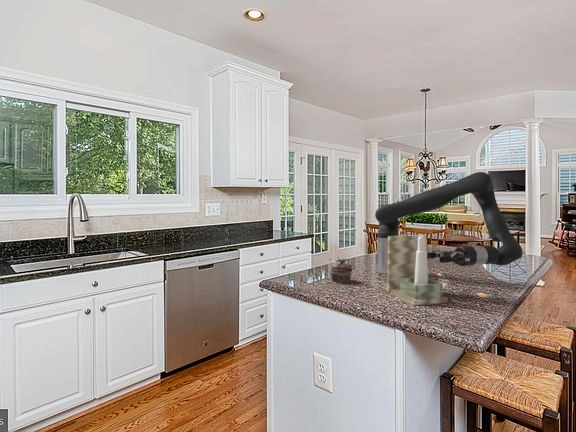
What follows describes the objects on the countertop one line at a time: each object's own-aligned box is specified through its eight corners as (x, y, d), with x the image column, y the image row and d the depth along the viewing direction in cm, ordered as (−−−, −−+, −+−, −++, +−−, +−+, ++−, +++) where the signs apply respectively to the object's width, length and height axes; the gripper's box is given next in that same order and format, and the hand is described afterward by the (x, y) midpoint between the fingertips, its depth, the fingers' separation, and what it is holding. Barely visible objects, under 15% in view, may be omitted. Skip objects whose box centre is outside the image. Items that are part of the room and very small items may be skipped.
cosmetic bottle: (419, 291, 136) (420, 233, 134) (433, 295, 131) (434, 235, 129) (408, 294, 132) (409, 234, 131) (422, 298, 127) (423, 236, 126)
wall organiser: (413, 305, 124) (414, 242, 123) (387, 291, 142) (387, 236, 140) (453, 302, 127) (454, 240, 126) (423, 289, 145) (424, 234, 144)
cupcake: (346, 277, 165) (346, 256, 165) (355, 282, 156) (355, 260, 155) (326, 279, 163) (326, 257, 162) (334, 284, 154) (334, 261, 153)
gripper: (458, 243, 142) (421, 244, 139) (485, 248, 128) (445, 250, 125) (457, 262, 143) (421, 264, 139) (484, 269, 129) (445, 271, 125)
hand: (432, 257), depth 132 cm, fingers open, 8 cm apart
